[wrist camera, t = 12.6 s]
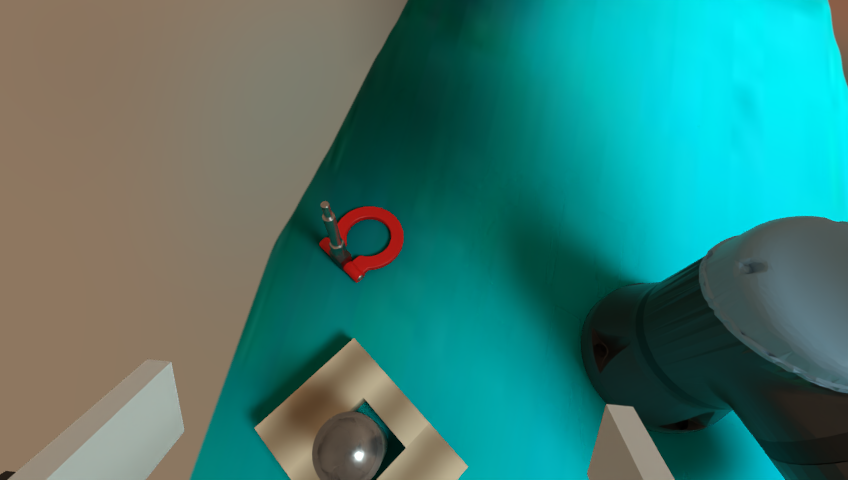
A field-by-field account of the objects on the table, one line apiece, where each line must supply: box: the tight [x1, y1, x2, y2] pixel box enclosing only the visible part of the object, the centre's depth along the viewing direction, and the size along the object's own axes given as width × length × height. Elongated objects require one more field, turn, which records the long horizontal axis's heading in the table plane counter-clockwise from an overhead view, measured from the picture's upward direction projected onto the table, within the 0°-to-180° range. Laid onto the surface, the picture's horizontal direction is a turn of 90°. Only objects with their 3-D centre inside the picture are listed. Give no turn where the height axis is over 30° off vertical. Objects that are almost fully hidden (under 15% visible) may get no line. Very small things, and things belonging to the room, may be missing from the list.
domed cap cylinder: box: [312, 411, 388, 480], centre depth 34 cm, size 5×5×11 cm
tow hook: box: [319, 201, 403, 282], centre depth 43 cm, size 8×13×9 cm
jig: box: [254, 338, 468, 480], centre depth 38 cm, size 16×12×3 cm
